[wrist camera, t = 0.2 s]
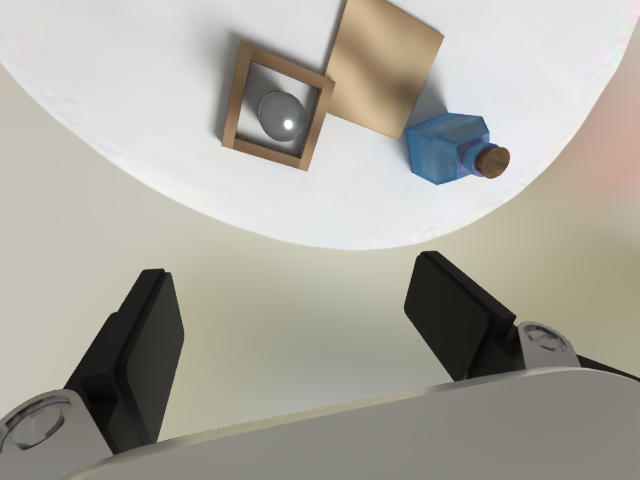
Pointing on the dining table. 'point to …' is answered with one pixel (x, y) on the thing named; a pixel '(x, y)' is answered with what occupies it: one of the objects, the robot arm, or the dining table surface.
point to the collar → (290, 70)
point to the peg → (281, 116)
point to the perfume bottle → (454, 149)
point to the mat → (379, 65)
